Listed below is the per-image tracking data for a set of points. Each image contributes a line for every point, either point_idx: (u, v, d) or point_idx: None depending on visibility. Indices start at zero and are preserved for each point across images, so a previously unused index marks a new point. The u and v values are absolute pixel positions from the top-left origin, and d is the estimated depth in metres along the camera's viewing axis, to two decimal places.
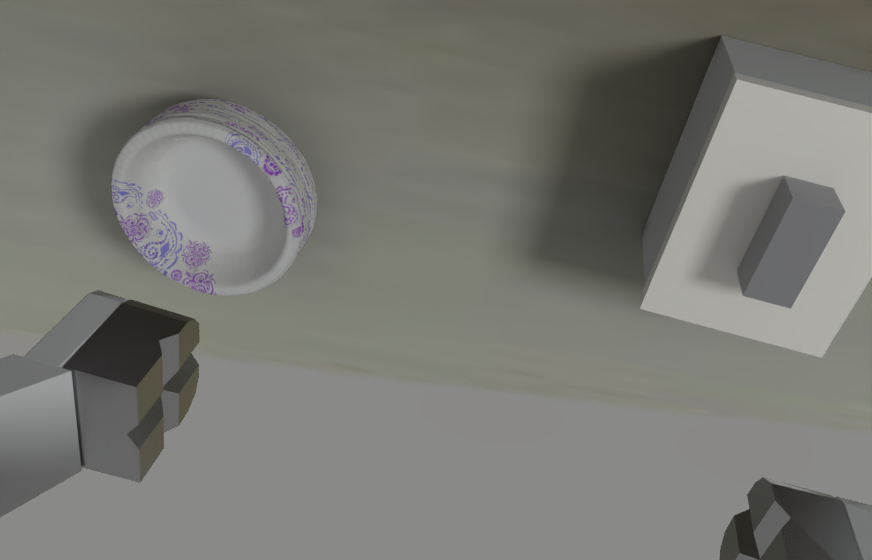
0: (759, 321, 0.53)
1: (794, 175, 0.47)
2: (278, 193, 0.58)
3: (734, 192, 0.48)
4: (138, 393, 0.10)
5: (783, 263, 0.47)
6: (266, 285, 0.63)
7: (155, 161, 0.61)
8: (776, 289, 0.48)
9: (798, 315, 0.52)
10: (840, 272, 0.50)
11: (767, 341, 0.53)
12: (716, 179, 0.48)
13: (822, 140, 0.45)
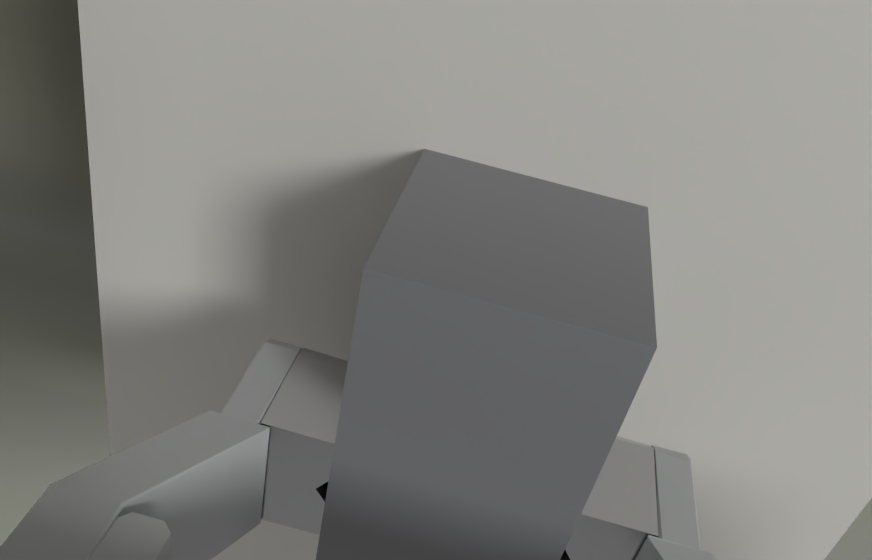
0: None
1: (468, 148, 0.10)
2: None
3: (254, 223, 0.12)
4: None
5: (417, 553, 0.10)
6: None
7: None
8: None
9: None
10: (714, 525, 0.13)
11: None
12: (168, 166, 0.11)
13: None
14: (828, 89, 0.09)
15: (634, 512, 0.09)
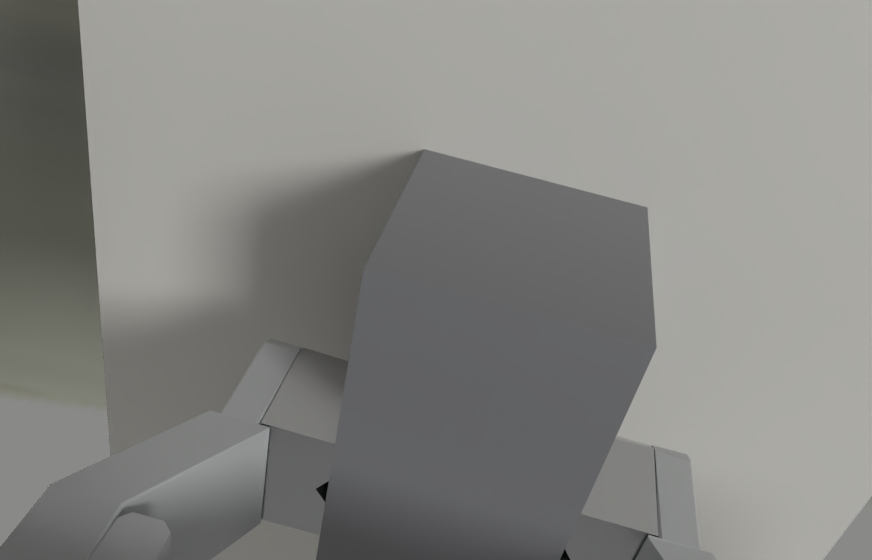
0: None
1: (468, 149, 0.10)
2: None
3: (254, 223, 0.12)
4: None
5: (417, 552, 0.10)
6: None
7: None
8: None
9: None
10: (713, 525, 0.13)
11: None
12: (169, 167, 0.11)
13: None
14: (827, 89, 0.09)
15: (634, 512, 0.09)
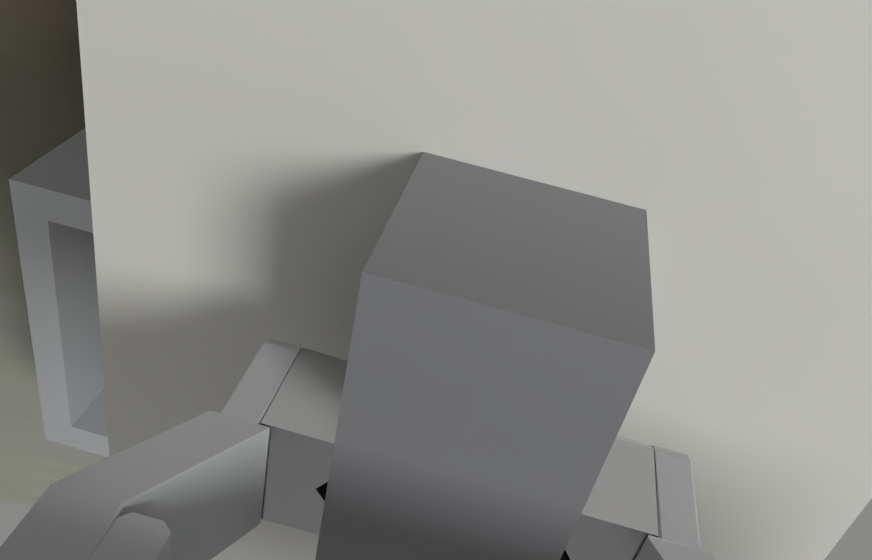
0: None
1: (467, 151, 0.10)
2: None
3: (252, 225, 0.12)
4: None
5: (416, 555, 0.10)
6: None
7: None
8: None
9: None
10: (713, 527, 0.13)
11: None
12: (167, 169, 0.11)
13: None
14: (826, 92, 0.09)
15: (634, 512, 0.09)
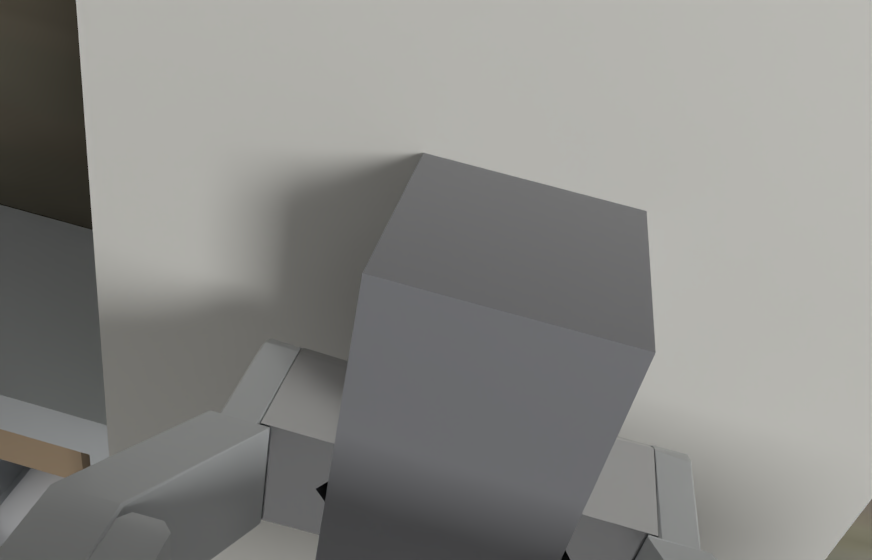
0: None
1: (467, 152, 0.10)
2: None
3: (252, 226, 0.12)
4: None
5: (416, 556, 0.10)
6: None
7: None
8: None
9: None
10: (712, 527, 0.13)
11: None
12: (167, 171, 0.11)
13: None
14: (826, 93, 0.09)
15: (634, 512, 0.09)
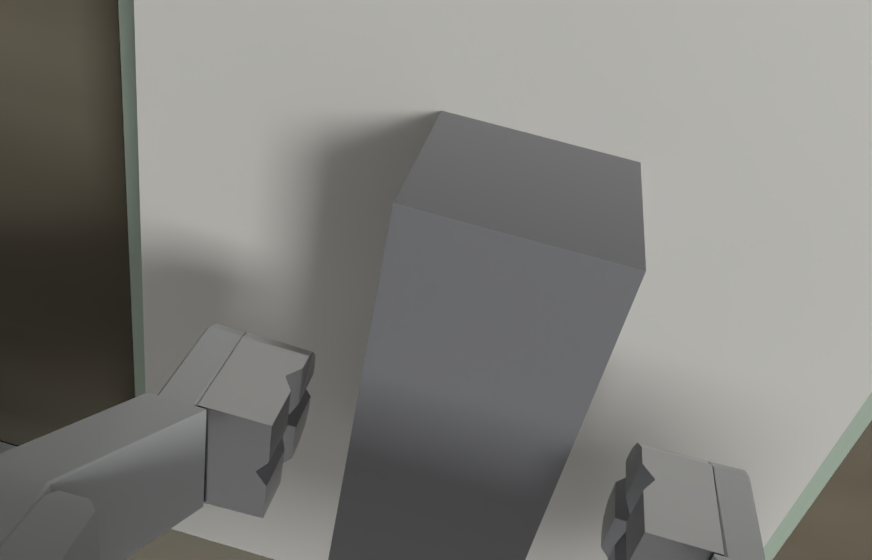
0: None
1: (480, 110, 0.11)
2: None
3: (286, 180, 0.13)
4: (272, 431, 0.10)
5: (434, 469, 0.11)
6: None
7: None
8: (436, 553, 0.12)
9: None
10: None
11: None
12: (209, 129, 0.13)
13: None
14: (798, 54, 0.10)
15: (698, 530, 0.09)
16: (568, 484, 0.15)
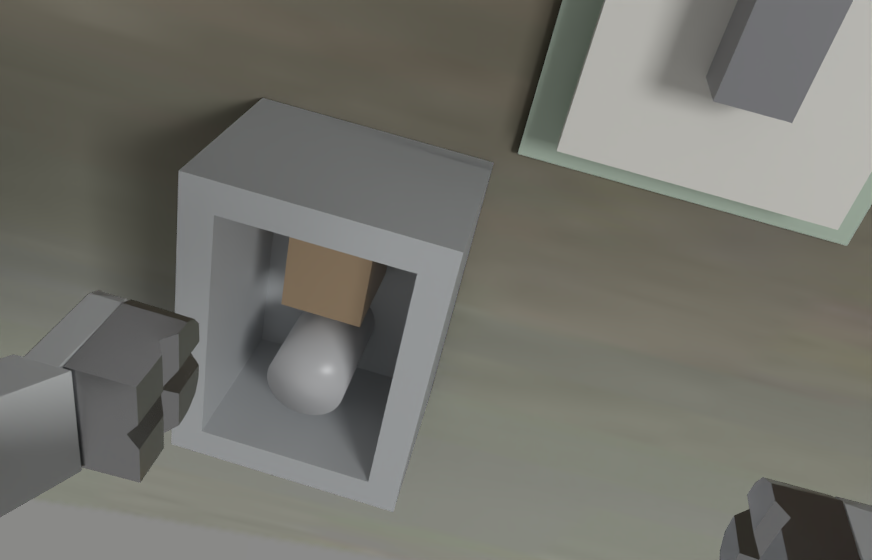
0: (741, 168, 0.34)
1: None
2: None
3: None
4: (138, 393, 0.10)
5: (782, 34, 0.28)
6: None
7: None
8: (769, 86, 0.29)
9: (803, 156, 0.33)
10: None
11: (753, 203, 0.34)
12: None
13: None
14: None
15: None
16: None
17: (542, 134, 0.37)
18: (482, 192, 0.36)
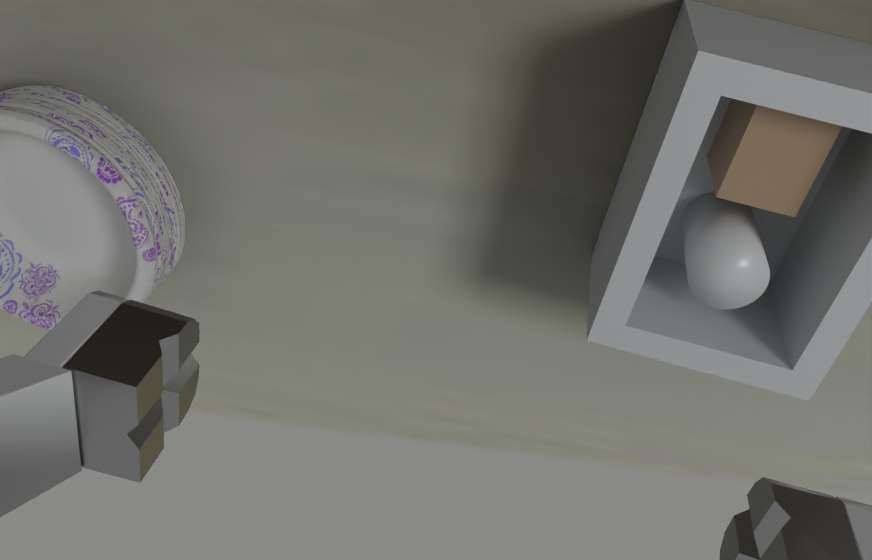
0: None
1: None
2: (120, 206, 0.45)
3: None
4: (138, 393, 0.10)
5: None
6: None
7: None
8: None
9: None
10: None
11: None
12: None
13: None
14: None
15: None
16: None
17: None
18: None
